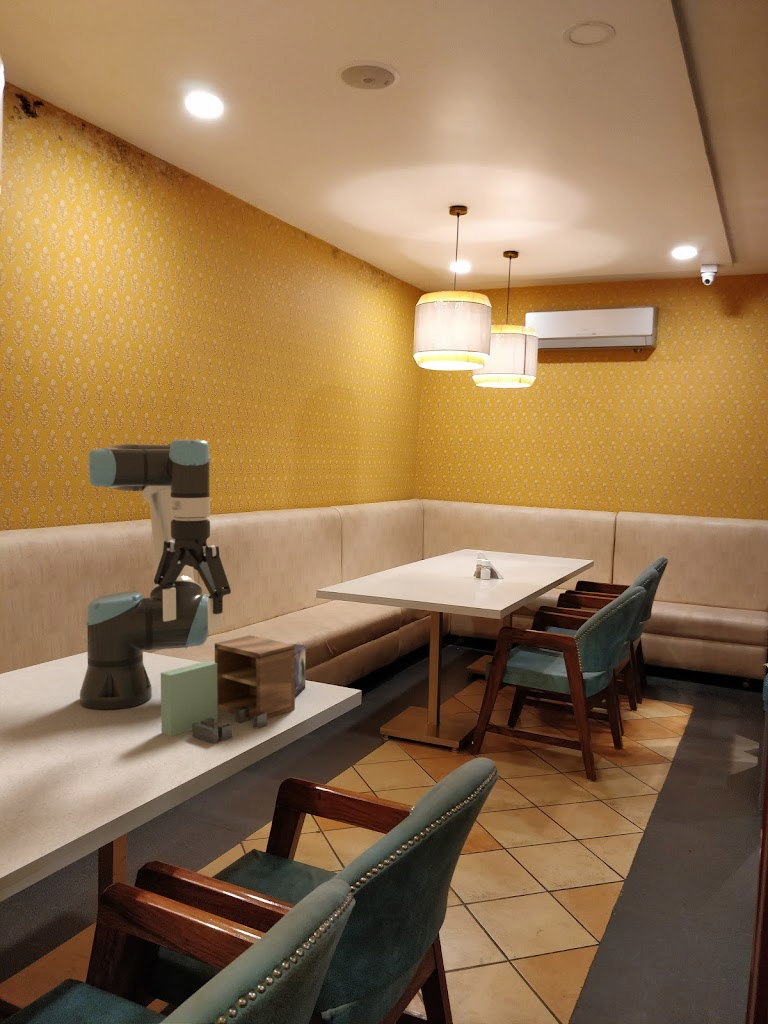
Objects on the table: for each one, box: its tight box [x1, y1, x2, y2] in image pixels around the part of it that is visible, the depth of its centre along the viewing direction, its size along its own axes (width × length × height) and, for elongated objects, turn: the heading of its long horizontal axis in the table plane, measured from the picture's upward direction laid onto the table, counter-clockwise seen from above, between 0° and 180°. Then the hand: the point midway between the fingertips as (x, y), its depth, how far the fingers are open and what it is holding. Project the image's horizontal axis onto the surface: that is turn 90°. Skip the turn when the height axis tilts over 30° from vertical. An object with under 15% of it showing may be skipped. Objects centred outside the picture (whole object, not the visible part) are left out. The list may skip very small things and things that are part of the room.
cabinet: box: [214, 634, 296, 720], centre depth 173 cm, size 14×10×14 cm
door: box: [160, 660, 219, 737], centre depth 162 cm, size 3×12×12 cm, turn 142°
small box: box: [292, 643, 307, 698], centre depth 184 cm, size 11×6×10 cm, turn 168°
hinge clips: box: [191, 707, 268, 745], centre depth 160 cm, size 6×14×2 cm, turn 142°
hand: (191, 625), depth 161 cm, fingers open, 13 cm apart
